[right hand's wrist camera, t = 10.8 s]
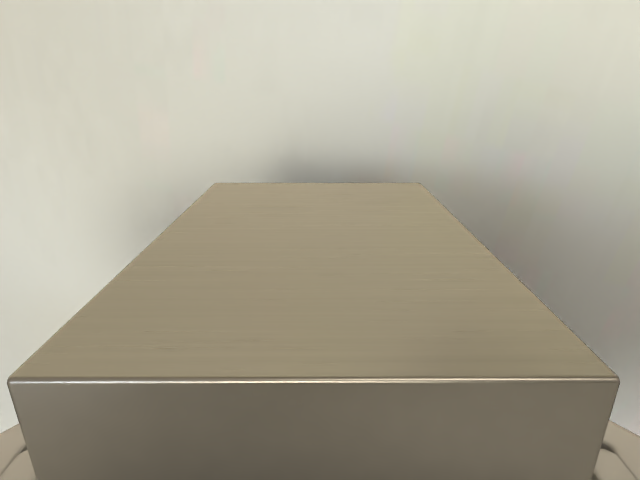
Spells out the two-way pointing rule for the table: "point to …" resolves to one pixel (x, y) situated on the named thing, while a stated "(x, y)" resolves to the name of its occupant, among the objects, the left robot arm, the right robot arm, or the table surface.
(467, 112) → the table surface
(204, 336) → the box
